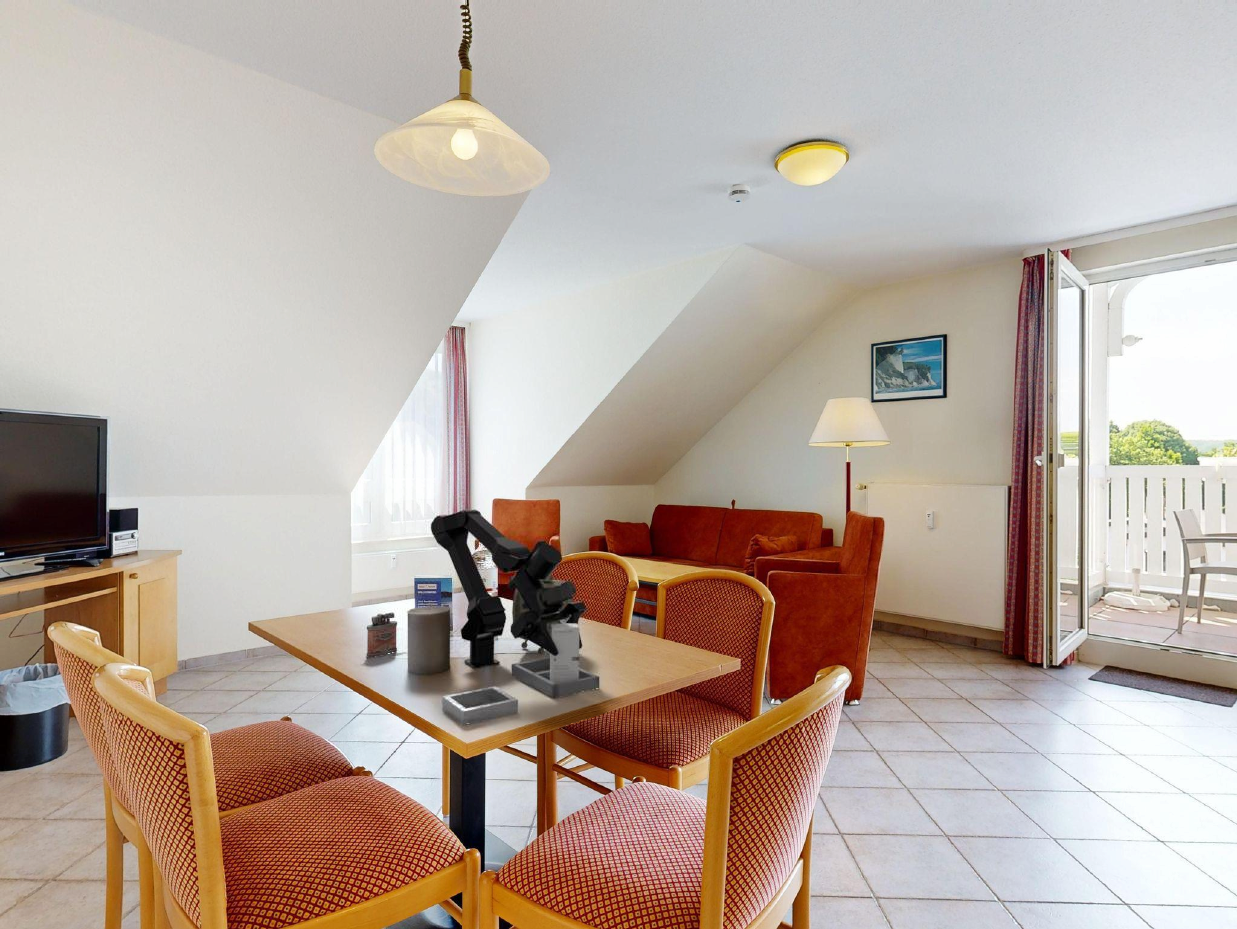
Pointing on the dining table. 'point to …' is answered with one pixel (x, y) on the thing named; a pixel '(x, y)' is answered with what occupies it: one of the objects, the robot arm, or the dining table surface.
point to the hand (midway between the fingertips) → (569, 651)
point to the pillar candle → (428, 639)
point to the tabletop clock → (519, 609)
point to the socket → (480, 713)
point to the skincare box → (565, 653)
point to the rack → (550, 688)
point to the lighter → (381, 635)
